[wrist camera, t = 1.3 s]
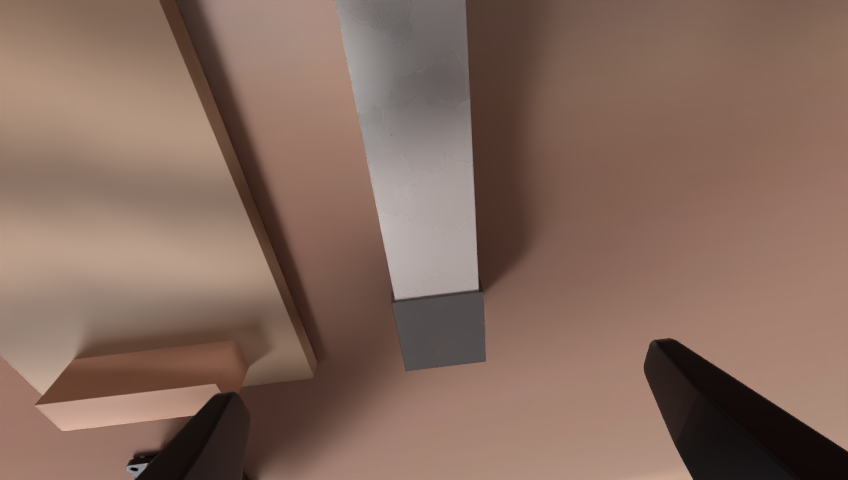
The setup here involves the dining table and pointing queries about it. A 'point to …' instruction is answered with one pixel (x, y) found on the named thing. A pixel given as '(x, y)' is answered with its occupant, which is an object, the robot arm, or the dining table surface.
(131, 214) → the lock cradle
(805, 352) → the dining table surface
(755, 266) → the dining table surface
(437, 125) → the two-tone gray brick
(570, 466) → the dining table surface
